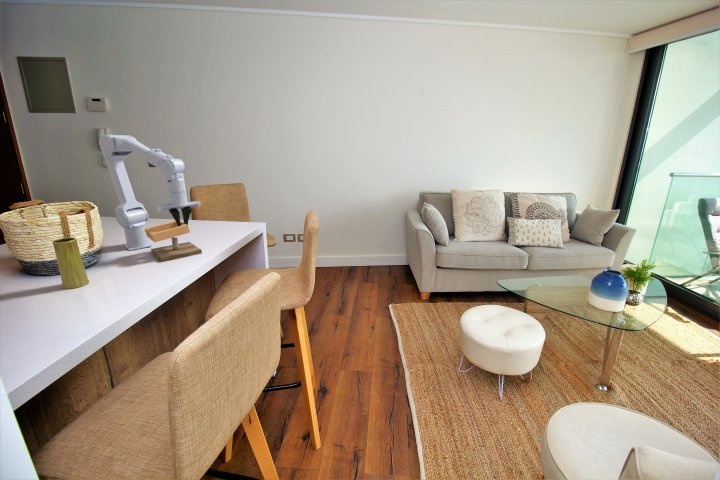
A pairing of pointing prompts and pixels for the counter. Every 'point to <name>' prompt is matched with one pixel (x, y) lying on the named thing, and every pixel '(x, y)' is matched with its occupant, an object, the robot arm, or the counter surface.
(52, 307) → the counter surface
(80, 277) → the vase
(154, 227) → the wooden square frame
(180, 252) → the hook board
